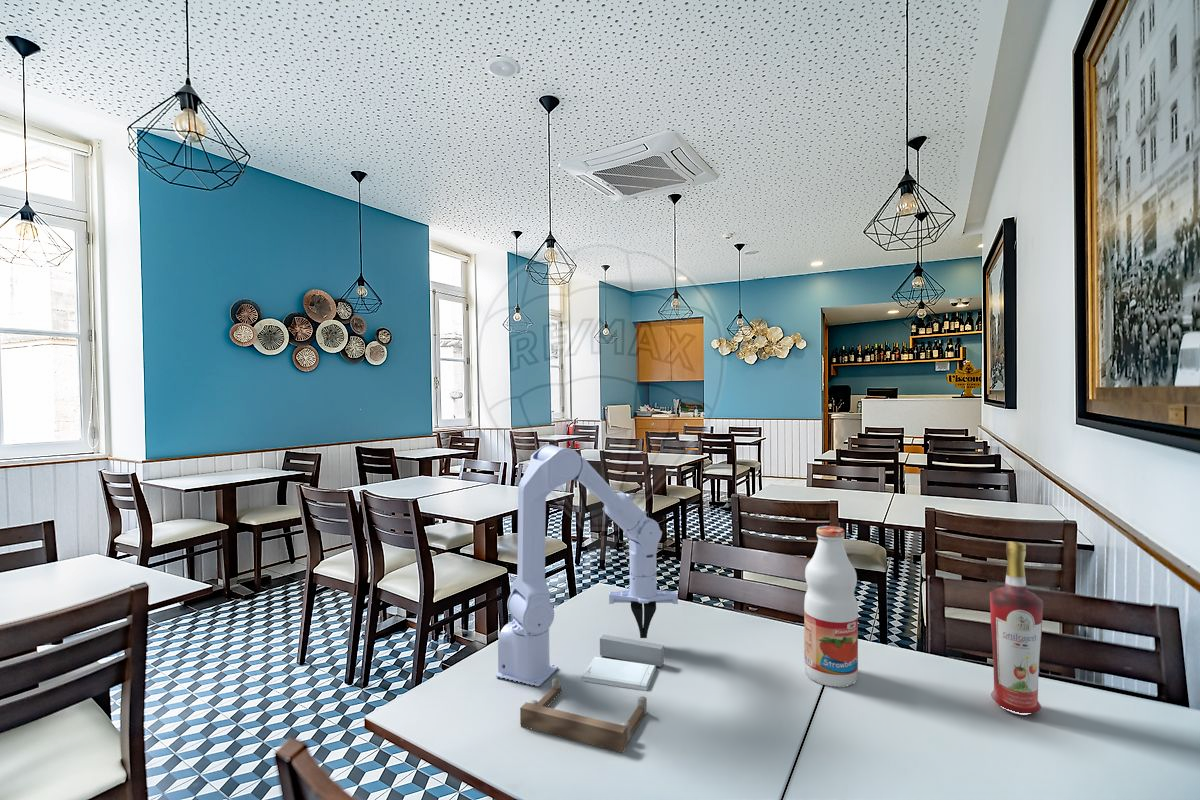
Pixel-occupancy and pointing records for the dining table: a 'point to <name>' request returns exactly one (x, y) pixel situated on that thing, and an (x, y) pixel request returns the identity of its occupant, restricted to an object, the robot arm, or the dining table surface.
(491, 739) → the dining table surface
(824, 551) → the fruit juice
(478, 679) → the dining table surface
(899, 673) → the dining table surface
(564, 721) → the dock
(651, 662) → the grey rectangular beam
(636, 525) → the robot arm
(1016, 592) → the liquor
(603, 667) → the hard drive
